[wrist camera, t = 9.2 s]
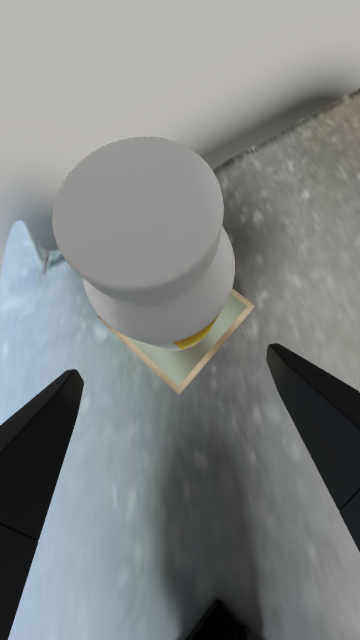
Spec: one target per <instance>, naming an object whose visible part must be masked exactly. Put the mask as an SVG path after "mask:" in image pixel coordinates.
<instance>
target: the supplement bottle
mask: <svg viewBox="0 0 360 640" xmlns="http://www.w3.org/2000/svg"><path fill="white" fill-rule="evenodd" d="M223 217H224V204H223V196H222V192H221V188H220V185H219V182H218V180H217V178H216V176H215V174H214V172H213V171H212V169H211V168H210V167H209V165H208V164H207V163H206V162H205V161H204V160H203V159H202V158H201V157H200V156H199V155H198V154H196V153H195V152H193V151H192V150H190V149H189V148H187V147H185V146H183V145H181V144H179V143H176V142H173V141H169V140H166V139H163V138H154V137H136V138H128V139H125V140H121V141H117V142H114V143H111V144H108V145H106V146H103V147H101V148H99V149H97V150H96V151H94V152H92V153H91V154H89V155H88V156H87V157H85V158H84V159H83V160H82V161H80V162H79V163H78V164H77V165H76V167H75V168H74V169H73V170H72V171H71V172H70V173H69V174H68V176H67V177H66V179H65V180H64V182H63V183H62V185H61V187H60V189H59V191H58V194H57V197H56V200H55V203H54V209H53V216H52V221H53V222H52V224H53V232H54V236H55V240H56V243H57V245H58V248H59V250H60V252H61V254H62V255H63V257H64V258H65V260H66V261H67V263H68V264H69V265H70V266H71V267H72V268H73V269H74V270H75V271H76V272H77V273H78V274H79V275H80V276H82V277H83V283H84V287H85V291H86V294H87V297H88V299H89V301H90V303H91V305H92V306H93V308H94V310H95V311H96V313H97V314H98V315H99V316H100V317H101V318H102V320H103V321H104V322H106V323H107V324H108V325H109V326H110V327H111V328H113V329H114V330H116V331H117V332H119V333H121V334H123V335H125V336H127V337H130V338H132V339H135V340H138V341H141V342H144V343H147V344H150V345H153V346H156V347H159V348H162V349H166V350H172V351H178V350H185V349H188V348H191V347H193V346H195V345H196V344H198V343H199V342H201V341H202V340H203V339H204V338H205V337H206V335H207V334H208V333H209V331H210V330H211V328H212V326H213V325H214V323H215V321H216V319H217V317H218V316H219V314H220V312H221V311H222V309H223V307H224V306H225V304H226V302H227V300H228V298H229V295H230V293H231V290H232V287H233V282H234V276H235V258H234V252H233V248H232V245H231V242H230V239H229V237H228V235H227V233H226V231H225V229H224V228H223V226H222V224H223Z"/></svg>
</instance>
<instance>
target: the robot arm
mask: <svg viewBox="0 0 360 640" xmlns="http://www.w3.org/2000/svg"><path fill="white" fill-rule="evenodd" d="M266 359H267V363H268V366H269V369H270V371H271V374H272V377H273V379H274V382H275V385H276V387H277V390H278V392H279V394H280V397H281V399H282V400H283V402H284V404H285V406H286V408H287V410H288V412H289V414H290V416H291V418H292V420H293V422H294V424H295V426H296V428H297V430H298V432H299V434H300V436H301V438H302V440H303V442H304V444H305V446H306V447H307V449H308V451H309V453H310V455H311V457H312V459H313V461H314V463H315V465H316V467H317V469H318V471H319V473H320V475H321V477H322V479H323V481H324V483H325V485H326V487H327V489H328V491H329V493H330V495H331V496H332V498H333V500H334V502H335V504H336V506H337V508H338V510H339V512H340V514H341V516H342V518H343V520H344V522H345V524H346V526H347V528H348V530H349V532H350V534H351V536H352V538H353V540H354V542H355V544H356V546H357V548H358V550H359V552H360V393H359V391H358V390H356V389H354V388H353V387H351V386H349V385H348V384H346V383H344V382H342V381H341V380H339V379H337V378H336V377H334V376H332V375H331V374H329V373H327V372H326V371H324V370H322V369H321V368H319V367H317V366H316V365H314V364H312V363H311V362H309V361H307V360H306V359H304V358H302V357H301V356H299V355H297V354H296V353H294V352H292V351H290V350H289V349H287V348H285V347H284V346H282V345H280V344H278V343H275V344H269V345H268V349H267V356H266ZM83 386H84V382H83V379H82V378H81V376H80V374H79V372H78V371H77V370H76V369H72V370H67V371H65V372H64V373H63V374H62V375H60V376H59V377H58V378H57V379H56V380H54V381H53V382H52V383H51V384H50V385H48V386H47V387H46V388H45V389H44V390H42V391H41V392H40V393H39V394H38V395H36V396H35V397H34V398H33V399H32V400H30V401H29V402H28V403H27V404H26V405H24V406H23V407H22V408H21V409H20V410H18V411H17V412H16V413H15V414H14V415H12V416H11V417H10V418H9V419H8V420H6V421H5V422H4V423H3V424H2V425H0V640H8V637H9V634H10V631H11V628H12V624H13V621H14V618H15V615H16V612H17V609H18V605H19V602H20V599H21V596H22V593H23V589H24V586H25V583H26V580H27V577H28V573H29V570H30V567H31V564H32V561H33V557H34V554H35V551H36V548H37V545H38V540H39V538H40V534H41V531H42V528H43V525H44V522H45V518H46V515H47V512H48V509H49V506H50V502H51V499H52V496H53V493H54V490H55V486H56V483H57V480H58V477H59V474H60V470H61V467H62V464H63V461H64V458H65V454H66V451H67V448H68V445H69V442H70V438H71V435H72V432H73V429H74V426H75V422H76V419H77V415H78V411H79V406H80V401H81V396H82V391H83ZM217 610H221V611H217ZM186 640H258V639H257V638H256V637H255V636H254V635H253V633H252V632H251V631H250V630H249V629H248V628H247V627H246V625H244V624H243V623H241V622H240V621H239V620H238V619H237V617H236V616H235V615H234V614H233V613H232V612H231V611H230V609H229V608H228V607H227V606H226V605H225V604H224V603H223V602H222V601H221V600H216V601H214V603H213V604H212V605H211V607H210V608H209V609H208V611H207V612H206V613H205V615H204V616H203V617H202V619H201V620H200V622H199V623H198V624H197V626H196V627H195V628H194V630H193V631H192V632H191V634H190V635H189V636H188V638H187V639H186Z"/></svg>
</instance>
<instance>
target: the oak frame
mask: <svg viewBox="0 0 360 640" xmlns="http://www.w3.org/2000/svg"><path fill="white" fill-rule="evenodd" d="M254 307H255V305H253V304H252V303H251V302H249V301H248V300H247V299H246V298H244V297H243V296H242V295H241V294H239V293H238V292H237V291H236V290H234V289H233V288H232V290H231V293H230V295H229V298H228V300H227V302H226V304H225V306H224V307H223V309H222V311H221V312H220V314H219V316H218V317H217V319H216V321H215V323H214V325H213V326H212V328H211V330H210V331H209V333H208V334H207V335H206V337H205V338H204V339H203V340H202V341H201V342H199V343H198V344H196V345H195V346H193V347H191V348H188V349H185V350H178V351H172V350H166V349H162V348H159V347H156V346H153V345H150V344H147V343H144V342H141V341H138V340H135V339H132V338H130V337H127V336H125V335H123V334H121V333H119V332H117V331H116V330H114V329H113V328H111V327H110V326H109V325H108V324H107V323H106V322H104V321H103V320H102V318H101V317H100V316H99V315H98V316H97V317H98V318H99V319H100V320H101V321H102V322H103V323H104V324H105V325H106V326H107V327H108V328H110V329H111V330H112V331H113V332H114V333H115V334H116V335H117V336H118V337H119V338H120V339H121V340H122V341H123V342H124V343H125V344H126V345H127V346H128V347H129V348H130V349H131V350H132V351H134V352H135V353H136V354H137V355H138V356H139V357H140V358H141V359H142V360H143V361H144V362H145V363H146V364H147V365H148V366H149V367H150V368H151V369H152V370H153V371H154V372H155V373H157V374H158V375H159V376H160V377H161V378H162V379H163V380H164V381H165V382H166V383H167V384H168V385H169V386H170V387H171V388H172V389H173V390H174V391H175V392H176V393H177V394H178V395H179V394H180V393H181V392H182V391H183V390H184V389H185V387H186V386H187V385H188V384H189V383H190V382H191V380H192V379H193V378H194V377H195V376H196V375H197V373H198V372H199V371H200V370H201V369H202V368H203V366H204V365H205V364H206V363H207V362H208V361H209V359H210V358H211V357H212V356H213V355H214V354H215V353H216V351H217V350H218V349H219V348H220V347H221V346H222V344H223V343H224V342H225V341H226V340H227V339H228V337H229V336H230V335H231V334H232V333H233V332H234V330H235V329H236V328H237V327H238V326H239V325H240V323H241V322H242V321H243V320H244V319H245V318H246V316H247V315H248V314H249V313H250V312H251V311H252V310H253V308H254Z"/></svg>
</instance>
